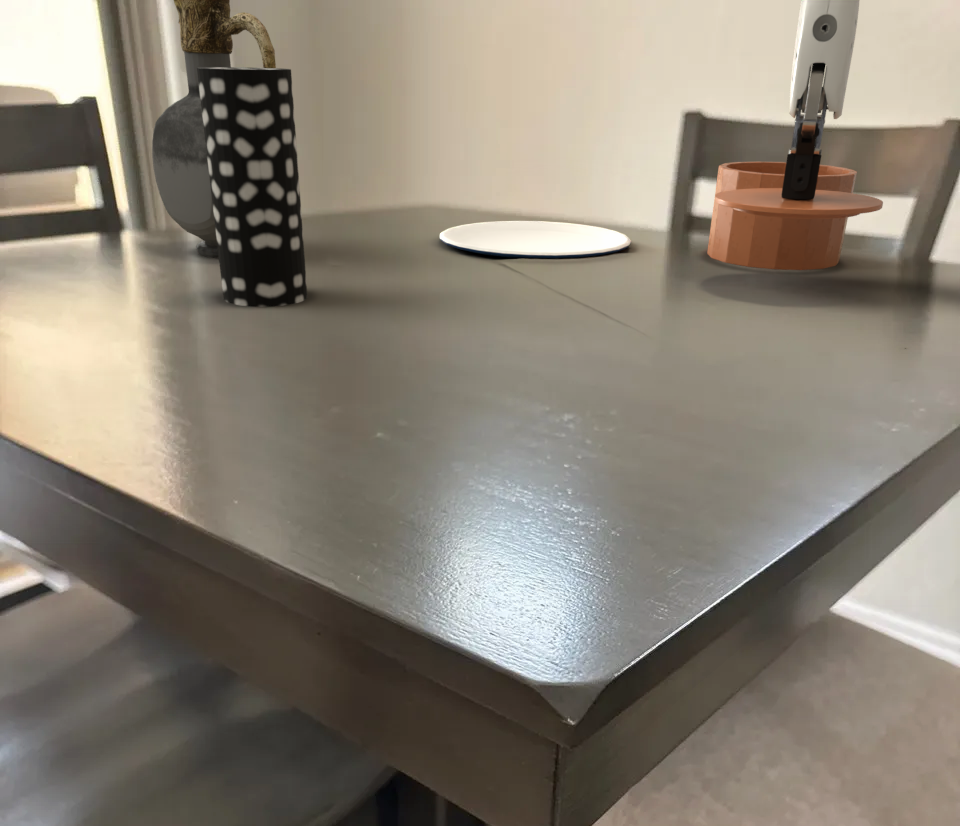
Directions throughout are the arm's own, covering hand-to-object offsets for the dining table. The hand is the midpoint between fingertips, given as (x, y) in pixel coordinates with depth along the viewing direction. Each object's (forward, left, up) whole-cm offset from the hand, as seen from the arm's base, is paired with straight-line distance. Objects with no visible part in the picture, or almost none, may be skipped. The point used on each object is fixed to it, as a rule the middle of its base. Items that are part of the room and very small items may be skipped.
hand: (798, 194), depth 99 cm
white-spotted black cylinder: (+53, -13, -10) cm, 55 cm away
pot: (-10, -16, -10) cm, 22 cm away
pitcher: (+52, -37, -10) cm, 65 cm away
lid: (0, 0, -1) cm, 1 cm away
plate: (+14, -34, -10) cm, 38 cm away
